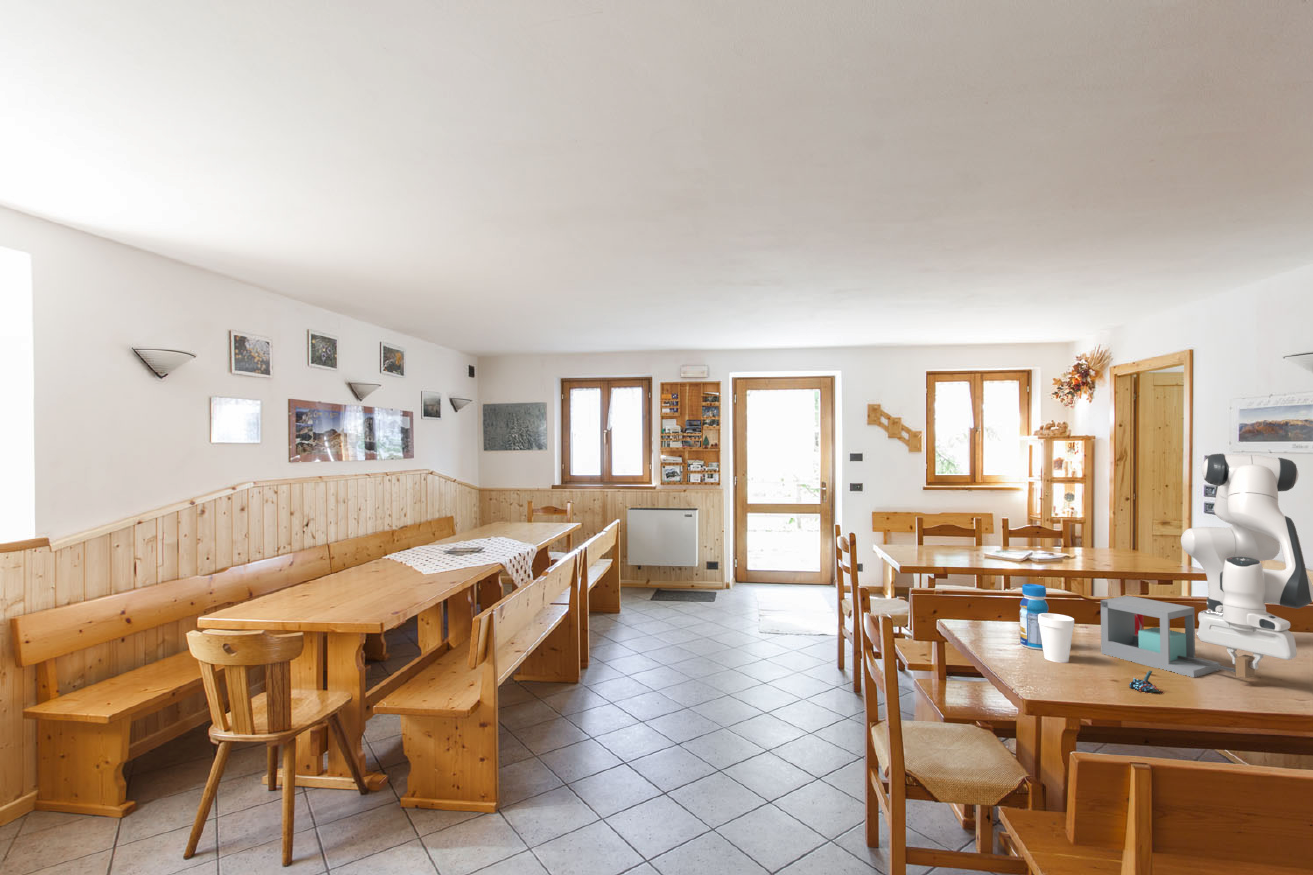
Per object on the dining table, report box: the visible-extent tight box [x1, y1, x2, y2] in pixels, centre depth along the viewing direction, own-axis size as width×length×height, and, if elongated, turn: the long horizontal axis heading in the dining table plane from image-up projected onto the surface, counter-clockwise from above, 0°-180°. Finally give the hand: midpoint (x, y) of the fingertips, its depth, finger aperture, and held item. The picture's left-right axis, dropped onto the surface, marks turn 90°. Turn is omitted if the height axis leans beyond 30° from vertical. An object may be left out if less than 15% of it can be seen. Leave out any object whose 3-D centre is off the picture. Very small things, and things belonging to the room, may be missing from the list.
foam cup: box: [1038, 612, 1075, 664], centre depth 192 cm, size 10×9×13 cm
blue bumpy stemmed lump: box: [1128, 670, 1164, 694], centre depth 167 cm, size 8×7×8 cm
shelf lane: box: [1100, 595, 1221, 678], centre depth 191 cm, size 16×24×17 cm, turn 27°
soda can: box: [1135, 613, 1145, 636], centre depth 213 cm, size 7×7×12 cm
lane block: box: [1138, 626, 1256, 679], centre depth 183 cm, size 10×24×7 cm, turn 27°
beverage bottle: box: [1019, 583, 1049, 651], centre depth 205 cm, size 8×8×20 cm
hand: (1245, 666), depth 173 cm, fingers closed on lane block, 2 cm apart
